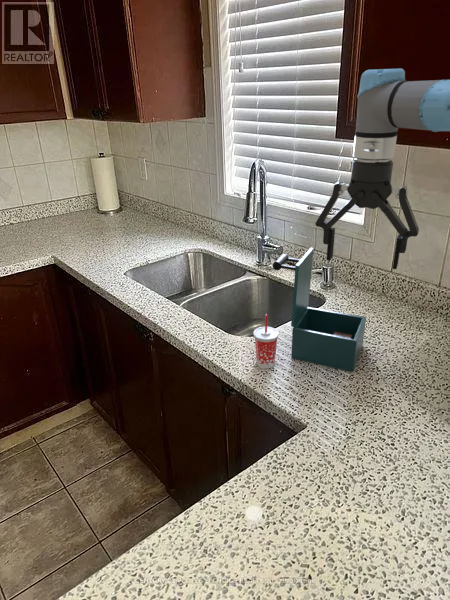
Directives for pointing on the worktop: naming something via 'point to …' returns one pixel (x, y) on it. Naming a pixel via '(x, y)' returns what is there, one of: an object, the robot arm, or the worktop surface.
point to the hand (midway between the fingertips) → (361, 262)
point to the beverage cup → (265, 345)
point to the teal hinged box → (328, 338)
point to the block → (342, 334)
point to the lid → (298, 282)
